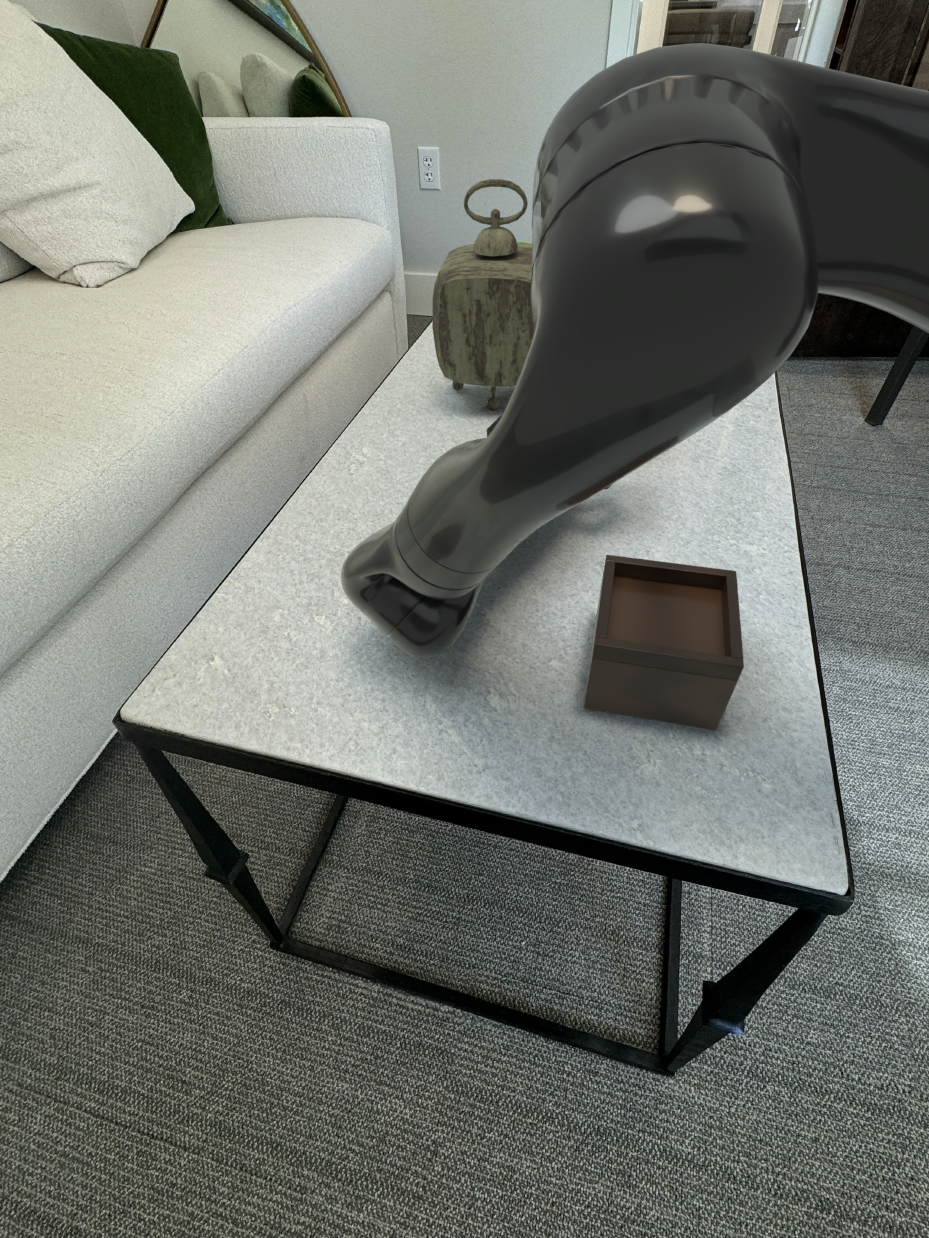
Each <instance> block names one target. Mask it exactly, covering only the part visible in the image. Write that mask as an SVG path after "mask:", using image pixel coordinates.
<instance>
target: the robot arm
mask: <svg viewBox="0 0 929 1238" xmlns="http://www.w3.org/2000/svg"><path fill="white" fill-rule="evenodd" d="M540 144H541V145H540V147H539V149H538V153H537V159H536V164H535V168H534V175H533V183H532V185H533V186H532V199H531V200H532V201H531V203H532V204H531V205H532V206H531V207H532V208H531V229H532V230H531V233H532V237H531V239H532V240H531V242H532V279H531V289H530V290H531V314H532V321H533V324H534V328H535V330H534V335H533V338H532V342H531V346H530V349H529V352H528V354H527V357H526V360H525V362H524V365H523V368H522V371H521V373H520V376H519V378H518V381H517V383H516V386H514V388H513V391H512V393H511V395H510V398H509V400H508V402H507V404H506V407H505V408H504V411H503V413H502V414H501V415H500V416H498V418H496V419H495V420H494V421H493V422H492V423H491V424H490V425H489V426H488V427H487V428H486V437H481V438H477V439H473V440H468V441H465V442H463V443H460V444H458V445H456V446H454V447H452V448H450V449H448V450H447V451H446V452H444V453H443V454H442V455H440V456H439V457H438V458H437V459H436V460H435V461H434V462H433V463H432V464H431V465H430V466H429V468H427V470H426V471H425V472H424V473H423V475H422V476H421V478H420V480H418V482H417V484H416V485H415V487H414V489H413V491H412V492H411V494H410V496H409V497H408V499H407V501H406V502H405V504H404V506H403V508H402V510H401V511H400V513H399V515H398V516H397V517H396V519H395V520H394V521H393V522H392V523H390V524H388V525H386V526H385V527H383V528H381V529H379V530H376V531H375V532H373V533H372V534H370V535H369V536H367V537H366V538H364V539H363V540H362V541H360V542H359V543H358V544H357V545H356V546H355V547H354V548H353V549H352V550H351V551H350V552H349V553H348V555H347V557H346V558H345V560H344V562H343V563H342V567H341V570H340V584H341V588H342V590H343V593H344V595H345V596H346V598H347V599H348V600H349V601H350V603H351V604H352V605H353V606H355V608H356V609H357V610H358V611H359V612H361V613H362V614H363V615H364V616H365V617H366V618H367V619H368V620H369V621H370V622H371V623H372V624H373V625H374V626H375V627H377V629H378V630H380V631H381V632H382V633H383V634H384V635H385V636H386V637H388V639H389V640H390V641H391V642H392V643H394V645H395V646H396V647H398V648H399V649H400V650H401V651H402V652H403V653H405V654H406V655H408V656H410V657H412V658H415V659H429V658H432V657H436V656H438V655H440V654H442V653H444V652H445V651H447V650H448V649H449V648H450V647H452V646H453V645H454V644H455V642H457V640H458V639H459V638H460V636H461V635H462V633H463V632H464V631H465V627H466V626H467V624H468V622H469V620H470V618H471V615H472V613H473V611H474V608H475V605H476V603H477V600H478V598H479V596H480V594H481V590H482V588H483V586H484V584H485V582H486V580H487V578H488V576H489V575H490V574H491V573H492V572H494V570H495V569H496V568H497V567H498V566H500V564H501V563H502V562H503V561H504V560H505V559H506V558H507V557H508V556H509V555H510V554H511V553H512V552H513V551H514V550H515V549H516V548H517V547H519V546H520V545H521V543H523V541H525V540H526V539H527V538H529V537H530V536H531V535H532V534H533V533H535V532H536V531H537V530H539V529H540V528H542V527H544V526H545V525H546V524H548V523H549V522H550V521H551V522H552V520H554V519H556V518H557V517H559V516H561V515H562V514H564V513H566V512H568V511H569V510H571V509H573V508H575V507H577V506H578V505H580V504H581V503H583V502H585V501H587V500H588V499H590V498H592V497H593V496H595V495H597V494H599V493H600V492H602V491H603V490H604V491H605V490H608V489H610V488H611V487H612V486H613V485H614V484H615V483H617V482H619V481H621V480H622V479H623V478H624V477H627V476H628V475H629V474H631V473H632V472H634V471H635V470H637V469H639V468H641V467H643V466H644V465H646V464H647V463H649V462H650V461H653V460H654V459H655V458H658V457H659V456H661V455H662V454H664V453H665V452H667V451H669V450H670V449H671V450H672V448H674V447H675V446H677V445H679V444H680V443H682V442H684V441H685V440H687V439H689V438H691V437H692V436H693V435H695V434H696V433H698V432H700V431H702V430H703V429H704V428H706V427H707V426H709V425H711V424H712V423H713V422H715V421H716V420H717V419H719V418H721V417H723V416H724V415H725V414H727V413H728V412H729V411H731V410H732V409H733V408H735V407H736V406H737V405H739V404H740V403H741V402H743V401H745V399H747V398H748V397H749V396H751V395H752V394H753V393H754V392H755V391H757V389H759V388H760V387H761V386H762V385H763V384H765V382H767V381H768V380H769V379H771V377H772V376H773V375H774V374H775V373H776V372H777V371H778V370H779V368H781V366H783V365H784V363H785V362H786V361H787V360H789V358H790V357H791V355H792V354H793V352H795V350H796V348H797V346H798V345H799V343H800V342H801V340H802V338H803V337H804V335H805V333H806V332H807V330H808V328H809V327H810V323H811V320H812V319H813V314H814V311H815V307H816V303H817V300H818V294H821V295H827V296H834V297H839V298H843V299H846V300H851V301H855V302H858V303H862V304H865V305H867V306H870V307H872V308H875V309H877V310H881V311H883V312H886V313H888V314H891V315H892V316H895V317H896V318H899V319H900V320H902V321H904V322H906V323H909V324H910V325H913V326H914V327H916V328H918V329H920V330H922V331H924V332H925V333H927V334H929V90H926V89H921V88H916V87H911V86H908V85H907V86H906V85H902V84H898V83H893V82H889V81H885V80H880V79H876V78H871V77H867V76H863V75H858V74H853V73H849V72H845V71H841V70H837V69H832V68H827V67H823V66H820V65H815V64H811V63H807V62H804V61H799V60H795V59H791V58H788V57H783V56H778V55H774V54H770V53H765V52H760V51H758V50H757V51H756V50H752V49H748V48H741V47H737V46H729V45H723V44H722V45H721V44H713V43H705V42H704V43H703V42H697V43H696V42H695V43H683V44H674V45H664V46H657V47H654V48H651V49H648V50H645V51H642V52H639V53H636V54H632V55H630V56H626V57H624V58H622V59H620V60H618V61H617V62H615V63H613V64H612V65H610V66H608V67H606V68H604V69H603V70H601V71H599V72H597V73H596V74H594V75H593V76H592V77H591V78H589V80H587V81H586V82H585V83H583V84H582V85H581V86H580V87H578V88H577V89H576V91H574V92H573V93H572V94H571V95H570V97H569V98H568V99H567V100H566V101H565V103H563V105H562V106H561V107H560V108H559V110H558V112H557V113H556V114H555V116H554V118H553V119H552V121H551V123H550V124H549V126H548V128H547V130H546V131H545V134H544V136H543V139H542V141H541V143H540Z"/></svg>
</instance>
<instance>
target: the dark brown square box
mask: <svg viewBox="0 0 929 1238" xmlns="http://www.w3.org/2000/svg"><path fill="white" fill-rule="evenodd" d="M737 574H738V573H737V570H732V569H723V568H715V567H709V566H700V565H694V564H693V565H692V564H685V563H677V562H669V561H660V560H652V559H645V558H636V557H629V556H628V557H627V556H622V555H621V556H620V555H612V554H606V555H605V559H604V566H603V574H602V578H601V584H600V589H599V595H598V602H597V608H596V614H595V622H594V628H593V635H592V641H591V642H592V643H591V650H590V656H589V664H588V672H587V679H586V686H585V694H584V702H583V709H587V710H594V711H600V712H605V713H610V714H617V715H623V716H629V717H633V718H639V719H644V720H645V719H647V720H652V721H657V722H663V723H669V724H676V725H680V726H687V727H693V728H699V729H705V730H709V731H717V730H718V728H719V726H720V724H721V720H722V718H723V716H724V714H725V712H726V710H727V707H728V705H729V702H730V700H731V698H732V695H733V693H734V692H735V689H736V687H737V684H738V682H739V679H740V677H741V675H742V673H743V671H744V668H745V663H744V649H743V636H742V635H743V634H742V624H741V613H740V601H739V587H738V586H739V585H738V575H737Z"/></svg>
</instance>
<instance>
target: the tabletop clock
mask: <svg viewBox="0 0 929 1238" xmlns="http://www.w3.org/2000/svg"><path fill="white" fill-rule="evenodd" d="M486 188H505V189H509V190H511V191H513V192H515V193H517V195H519V196H520V198H521V200H522V203H523V206H522V207H521V210H519V211H518V212H517V213H515V214H513V215H509V216H504V217H501V211H500V209H497V208H494V209H492V210H491V212H490V216H482V215H479V214H476V213H474V211H472V210H471V209H470V208H469V200H470V198H471V196H472V195H473V194H475V192H477V191H479V190H481V189H486ZM528 204H529V203H528V198H527V195H526V193H525V191H524V189H522V188H521V186H520V185H518V184H517V183H516V182H513V181H511V180H507V179H502V178H500V179H499V178H493V179H492V178H489V179H485V180H480V181H478V182H477V183H475V184H473V185H472V186H471V187H470V188H468V190H467V191H466V193H465V196H464V198H463V208H464V211H465V213H466V215H468V216H469V218H470V219H472V220H473V221H475V222H477V223H479V224H481V225H482V224H483V225H488V227H485V228H483V229H481V231H480V232H479V233H478V235H477V237H476V238H475V240H474V243H473V244H465V245H461V246H458V247H456V248H454V249H452V250H450V251H449V252H448V253H447V256H446V257H445V259H444V260H443V263H442V265H441V266H440V269H439V270H438V273H437V275H436V279H435V282H434V286H433V293H432V313H431V314H432V318H431V319H432V320H431V321H432V322H431V323H432V325H431V326H432V335H433V341H434V347H435V354H436V359H437V363H438V367H439V369H440V371H441V373H442V375H443V377H444V378H445V379H448V380H450V381H452V385H451V386H452V388H453V390H455V391H457V392H458V391H459V392H460V391H462V390H463V389H464V386H465V385H472V386H481V387H489V388H490V397H489V398H487V401H486V406H487V408H488V409H489V410H491V411H494V410H497V409H498V408H499V406H500V400H499V399H498V398H497V397H496V395H497V388H499V387H500V388H501V387H502V388H503V387H504V388H505V387H515V386H516V383H517V381H518V378H519V376H520V373H521V371H522V368H523V365H524V362H525V360H526V357H527V354H528V352H529V349H530V346H531V342H532V338H533V335H534V330H535V328H534V324H533V321H532V314H531V290H530V289H531V279H532V246H530V245H521V244H517V241H518V240H517V239H516V236H515V234H513V232H512V231H511V230H510V229H508V228H506V227H504V226H503V225H509V224H511V223H514V222H517V221H518V220H520V219H521V218H522V217H523V215H525V213H526V212H527V209H528Z"/></svg>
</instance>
